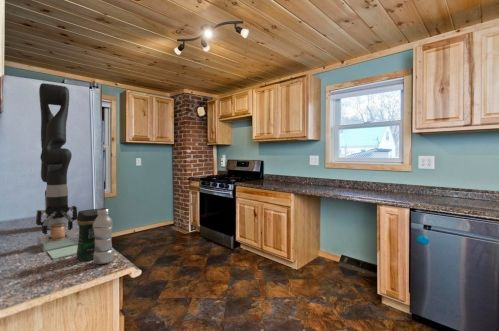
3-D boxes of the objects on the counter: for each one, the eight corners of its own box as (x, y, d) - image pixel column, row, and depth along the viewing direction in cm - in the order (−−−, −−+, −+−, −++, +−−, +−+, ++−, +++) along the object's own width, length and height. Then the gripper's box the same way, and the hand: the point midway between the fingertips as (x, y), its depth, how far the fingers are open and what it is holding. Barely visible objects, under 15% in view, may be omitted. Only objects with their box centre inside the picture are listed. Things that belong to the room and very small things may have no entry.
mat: (47, 252, 105) (47, 251, 105) (76, 246, 113) (76, 245, 113) (53, 259, 99) (53, 258, 99) (83, 252, 106) (83, 251, 106)
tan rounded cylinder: (49, 244, 114) (48, 224, 113) (63, 242, 117) (63, 222, 117) (52, 248, 110) (51, 226, 110) (66, 245, 114) (66, 224, 114)
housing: (37, 244, 113) (37, 236, 113) (70, 238, 122) (70, 231, 122) (43, 252, 105) (43, 243, 105) (78, 244, 114) (78, 237, 114)
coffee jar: (81, 263, 96) (80, 213, 95) (74, 257, 101) (74, 209, 100) (109, 256, 103) (109, 209, 102) (101, 250, 108) (101, 206, 108)
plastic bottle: (105, 267, 93) (104, 211, 92) (88, 265, 94) (88, 210, 93) (117, 260, 99) (117, 207, 98) (102, 258, 101) (101, 206, 100)
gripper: (73, 192, 121) (74, 227, 121) (34, 195, 110) (35, 233, 111) (78, 194, 115) (79, 230, 116) (37, 197, 105) (38, 237, 106)
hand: (57, 232), depth 114 cm, fingers open, 8 cm apart
